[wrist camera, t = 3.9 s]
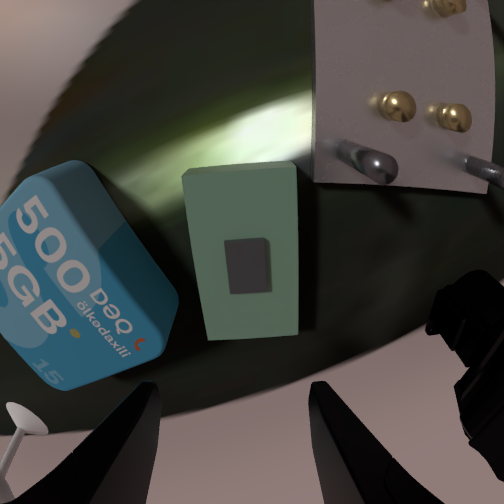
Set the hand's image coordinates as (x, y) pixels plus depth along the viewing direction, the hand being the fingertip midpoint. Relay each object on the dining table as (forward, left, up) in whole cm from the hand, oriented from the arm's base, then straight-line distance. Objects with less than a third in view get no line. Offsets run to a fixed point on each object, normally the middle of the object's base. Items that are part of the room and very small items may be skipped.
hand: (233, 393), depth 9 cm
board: (0, 0, -11) cm, 11 cm away
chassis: (-10, -12, -11) cm, 19 cm away
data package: (+17, +5, -9) cm, 20 cm away
